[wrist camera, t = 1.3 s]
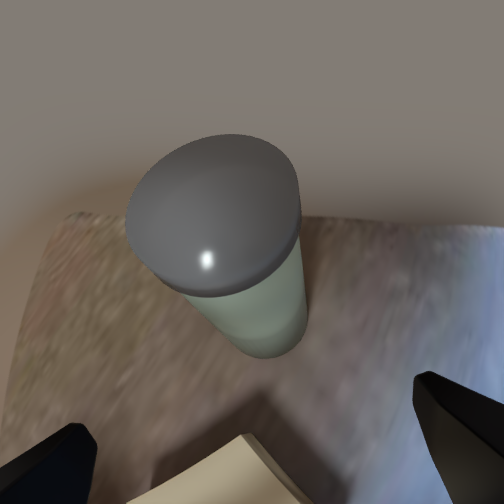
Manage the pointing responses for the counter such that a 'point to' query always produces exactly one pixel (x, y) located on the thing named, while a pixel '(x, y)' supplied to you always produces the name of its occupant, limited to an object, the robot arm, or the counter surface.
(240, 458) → the maple board
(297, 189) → the spice jar
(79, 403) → the counter surface
